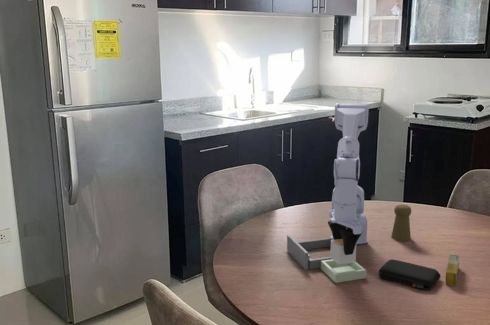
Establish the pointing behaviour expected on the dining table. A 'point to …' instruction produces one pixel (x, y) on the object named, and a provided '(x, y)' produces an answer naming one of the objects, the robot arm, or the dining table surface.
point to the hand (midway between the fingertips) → (343, 250)
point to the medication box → (452, 270)
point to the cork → (401, 223)
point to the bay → (343, 271)
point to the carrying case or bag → (409, 274)
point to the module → (341, 253)
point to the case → (302, 255)
